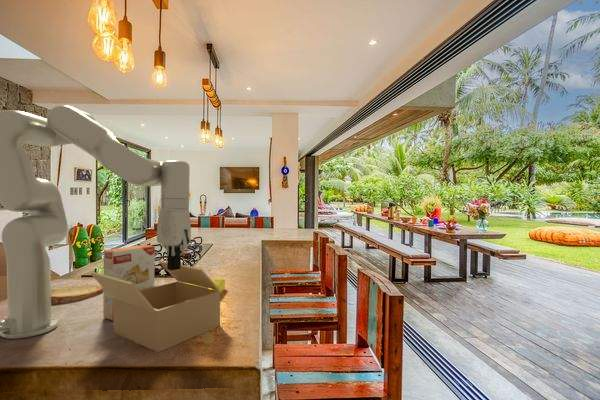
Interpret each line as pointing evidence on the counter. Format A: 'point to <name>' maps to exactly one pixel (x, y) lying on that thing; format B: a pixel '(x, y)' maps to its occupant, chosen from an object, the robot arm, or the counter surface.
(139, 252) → the cracker box
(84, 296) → the slice of bread
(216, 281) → the element tile
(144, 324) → the carton
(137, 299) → the flap arm side
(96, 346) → the counter surface
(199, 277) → the flap far
